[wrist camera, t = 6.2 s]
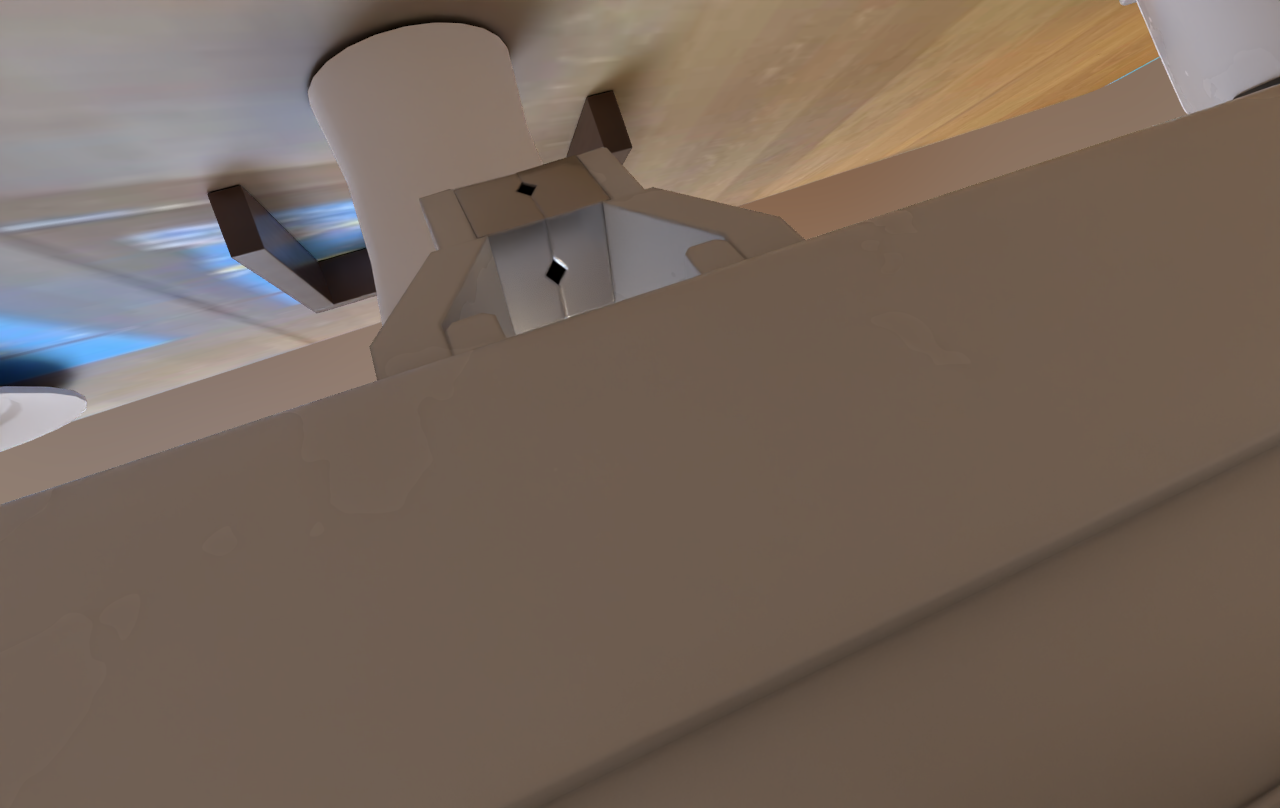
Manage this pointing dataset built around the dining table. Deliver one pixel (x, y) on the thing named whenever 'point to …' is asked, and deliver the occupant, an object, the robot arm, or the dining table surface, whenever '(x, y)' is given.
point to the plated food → (35, 412)
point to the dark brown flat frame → (351, 275)
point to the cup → (418, 133)
